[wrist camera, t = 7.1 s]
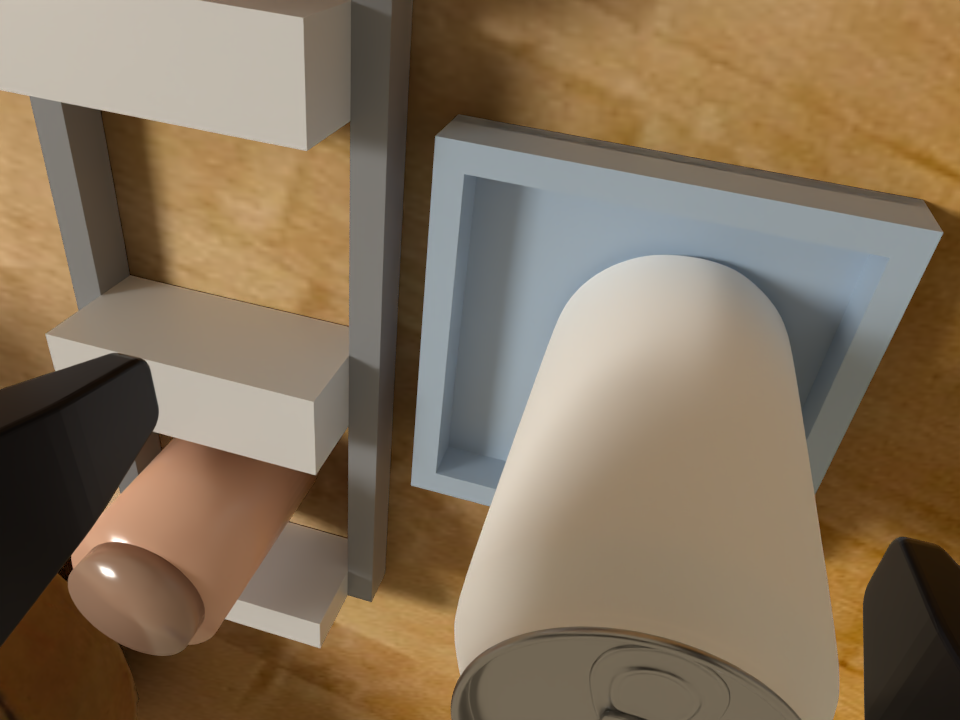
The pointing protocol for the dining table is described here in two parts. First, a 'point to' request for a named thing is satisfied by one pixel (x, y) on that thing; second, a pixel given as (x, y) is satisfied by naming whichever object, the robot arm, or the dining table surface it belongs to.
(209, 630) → the jar
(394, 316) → the caddy
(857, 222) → the tray
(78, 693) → the ceramic pitcher
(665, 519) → the can
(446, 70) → the dining table surface
